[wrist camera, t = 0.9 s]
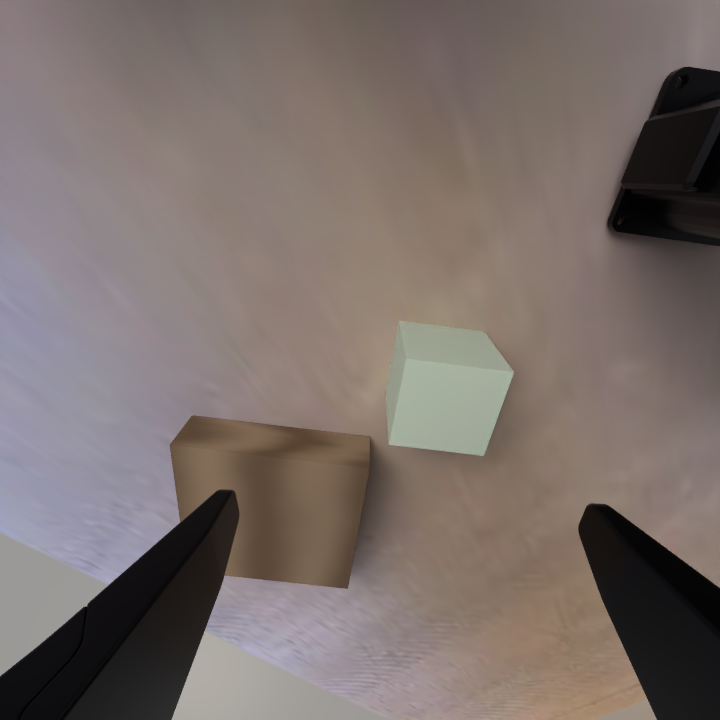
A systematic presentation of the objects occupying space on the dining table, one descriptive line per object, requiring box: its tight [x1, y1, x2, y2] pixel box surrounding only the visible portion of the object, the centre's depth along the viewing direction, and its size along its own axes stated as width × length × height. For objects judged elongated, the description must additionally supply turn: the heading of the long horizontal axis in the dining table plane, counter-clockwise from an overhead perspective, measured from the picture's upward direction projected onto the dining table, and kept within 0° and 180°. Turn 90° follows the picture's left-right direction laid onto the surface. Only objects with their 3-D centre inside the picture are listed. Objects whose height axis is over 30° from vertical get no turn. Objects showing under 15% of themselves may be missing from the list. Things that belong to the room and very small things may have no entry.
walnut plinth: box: [170, 416, 370, 589], centre depth 26 cm, size 12×12×3 cm
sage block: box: [385, 321, 514, 456], centre depth 20 cm, size 5×5×5 cm
